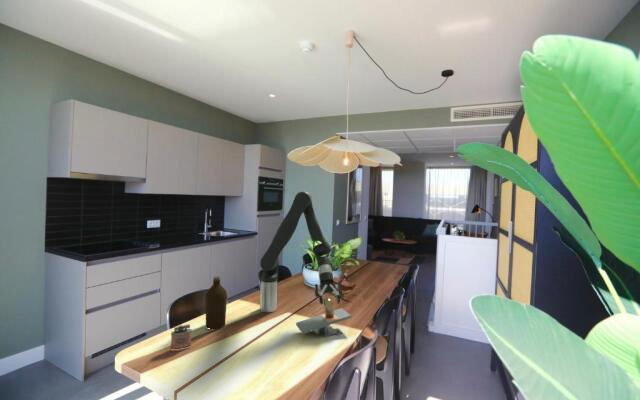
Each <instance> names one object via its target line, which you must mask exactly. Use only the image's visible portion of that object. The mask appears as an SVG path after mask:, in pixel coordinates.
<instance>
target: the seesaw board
mask: <svg viewBox="0 0 640 400" xmlns="http://www.w3.org/2000/svg"><path fill="white" fill-rule="evenodd" d="M333 310H334V317H333V318H330V319H328V318H326V316H325V312H324V313H321V314H319V315H315V316H313V317H310V318H307V319H303V320H299V321H297V322H295V325H296V327H297V328H298V330H299V332H301V334H302V335H304V334H307V333H310V332H313V330H316V329H319V328H322V327H325V326H328V325H330V326H331V325H333V324H337V323H339V322H342V321H345V320H349V319H350V318H351V319H352V316H351V314H350V313H349V312H347V311H346V310H345V309H344V308H342V307H340V308H337V309H333Z"/></svg>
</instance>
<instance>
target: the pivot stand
mask: <svg viewBox="0 0 640 400" xmlns="http://www.w3.org/2000/svg"><path fill="white" fill-rule="evenodd" d="M312 332H313V334H315V335H316V337H317V338H318V339H322V338H328V337H334V336H338V332H337V331H336V329H334V328H333V327H332V326H331V325H328V326H325V327H322V328H319V329H316V330H313V331H312Z"/></svg>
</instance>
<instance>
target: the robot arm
mask: <svg viewBox="0 0 640 400" xmlns="http://www.w3.org/2000/svg"><path fill="white" fill-rule="evenodd" d="M312 201H313V200H312V196H311V194H310V193H309V192H307V191H299V192H298V193H296V194H295V196H294V199H293V201H292V204H291V206H290V209H289V210H288V212H287V213H286V215H285V217H284V218H283V220H282V221H281V223H280V225H279V226H278V229H277V231H276V233H275V234H274V235H273V238H272V240H271V242H270V245H269V246H268V247H267V250H266V251H265V253H264V254H263V255H262V257H261V259H260V263H259V264H260V267H261V269H262V270H263V272H262V274H261V280H260V281H261V283H260V284H261V286H260V293H259V309H260V312H261V313H272V312H275V311H276V310H277V299H278V296H277V295H278V292H277V291H278V277H279V269H280V268H279V265H280V260H279V256H280V254H281V252H282V251H283V249H284V248H285V247H286V246H287V245H288V244H289V242H290V240H291V239H292V237H293V235H294V234H295V232H296V229H297V227H298V224H299V222H300V218H301V216H302V215H304V219H305V221H306V227H307V230H308V234H309V235H310V236H309V237H310V238H311V239H310V240H312V242H320V243H319V244H316V245H314V246H313V247H312V253H313V255H314V257H315V259H316V262H317V268H318V278H319V284H318V283H315V284H314V296H315V297H316V298H318V303H319V304H320V305H322V306H324V299H323V294H332V295H334V296H336V297H335V300H336V304H337V305H339V304H340V302H341V296H342V295H343V291H342V289H341V285H340V283H338V284H334V279H333V276H334V274H333V270H332V267H331V266H332V265H331V261H330V258H329V257H328V256H327V255H328V254H330V253H331V251H332V248H331V245H330V244H329V242H328V241H327V239H326V238H325V237H324V235H323V232H322V229H321V226H320V225H319V224H320V223H319V222H318V219H317V216H316V214H315V210H314V206H313V202H312ZM336 288H337V289H338V292H339V293H338V292H337V290H336ZM319 289H320V290H321V291H320V292H319Z"/></svg>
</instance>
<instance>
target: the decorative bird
mask: <svg viewBox="0 0 640 400" xmlns="http://www.w3.org/2000/svg"><path fill="white" fill-rule="evenodd" d="M349 272H350V267H347V269H346V270H345V272H344V274H343V276H342V278H339V277H336V276H334V278H333V279H334V284H338V283H340V285H341V289H342V292H344V293H345V292H346V293H347V294H348V293H350V291H353V290H354V289H355V288H356V286H357V285H356V284H355V283H352V282H349V281H346V280H347V276H348V274H349ZM335 289H336V290H337V292H338V289H337V288H336V287H335ZM338 293H339V292H338Z"/></svg>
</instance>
